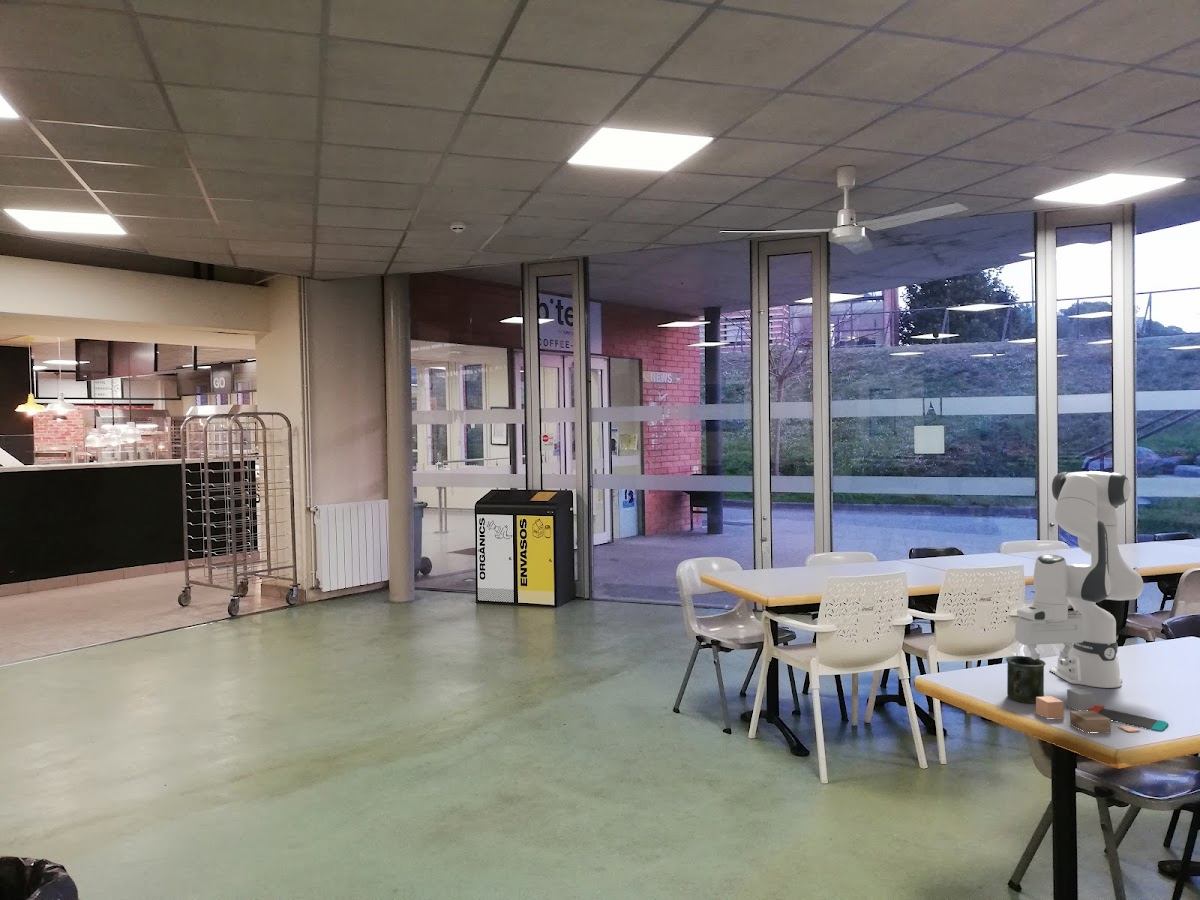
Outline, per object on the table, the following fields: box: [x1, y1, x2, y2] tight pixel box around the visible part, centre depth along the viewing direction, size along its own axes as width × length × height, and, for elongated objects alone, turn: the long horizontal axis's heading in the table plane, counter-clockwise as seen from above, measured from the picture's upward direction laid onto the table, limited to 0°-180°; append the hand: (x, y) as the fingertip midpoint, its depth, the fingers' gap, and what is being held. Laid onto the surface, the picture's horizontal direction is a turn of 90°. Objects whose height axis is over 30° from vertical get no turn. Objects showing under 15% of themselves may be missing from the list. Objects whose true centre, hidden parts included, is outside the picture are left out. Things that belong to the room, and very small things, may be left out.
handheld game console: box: [1088, 704, 1169, 732], centre depth 232 cm, size 19×1×10 cm
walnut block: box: [1069, 710, 1112, 734], centre depth 224 cm, size 7×7×4 cm
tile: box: [1117, 725, 1141, 733], centre depth 223 cm, size 4×4×1 cm
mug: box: [1005, 655, 1046, 704], centre depth 249 cm, size 11×15×12 cm
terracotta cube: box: [1035, 695, 1064, 719], centre depth 235 cm, size 5×5×5 cm
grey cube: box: [1066, 688, 1095, 711], centre depth 242 cm, size 5×5×5 cm
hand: (1049, 658), depth 234 cm, fingers open, 8 cm apart
